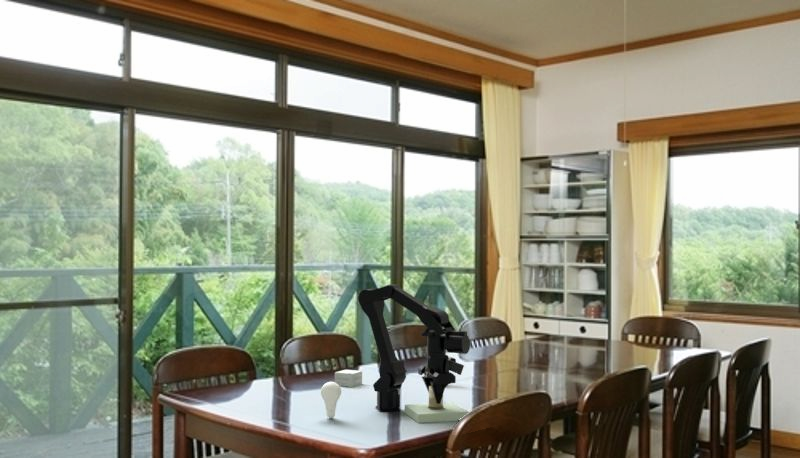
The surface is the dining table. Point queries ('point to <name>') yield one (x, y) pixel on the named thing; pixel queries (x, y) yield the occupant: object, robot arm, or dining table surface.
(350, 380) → the small box
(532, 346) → the dining table surface
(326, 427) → the dining table surface
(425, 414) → the board
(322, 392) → the lightbulb
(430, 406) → the peg
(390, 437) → the dining table surface
